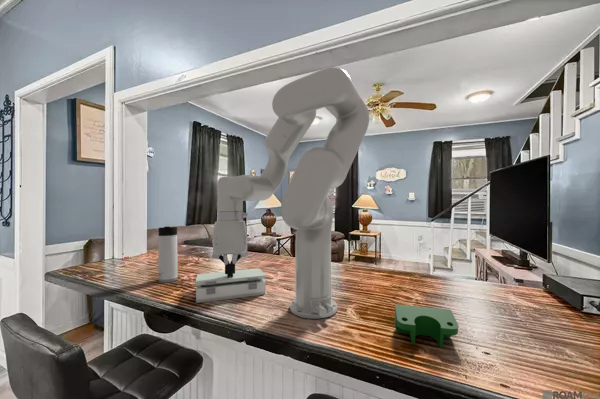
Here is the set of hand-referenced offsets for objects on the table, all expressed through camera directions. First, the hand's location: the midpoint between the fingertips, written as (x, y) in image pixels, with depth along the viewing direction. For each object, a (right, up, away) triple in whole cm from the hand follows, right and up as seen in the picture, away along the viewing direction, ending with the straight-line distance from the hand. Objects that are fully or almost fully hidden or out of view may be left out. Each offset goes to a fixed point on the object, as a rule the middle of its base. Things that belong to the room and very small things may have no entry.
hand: (230, 276), depth 80 cm
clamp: (+48, -6, -26) cm, 55 cm away
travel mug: (-27, -6, +15) cm, 31 cm away
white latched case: (0, -6, +3) cm, 6 cm away
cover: (0, -1, +2) cm, 3 cm away
